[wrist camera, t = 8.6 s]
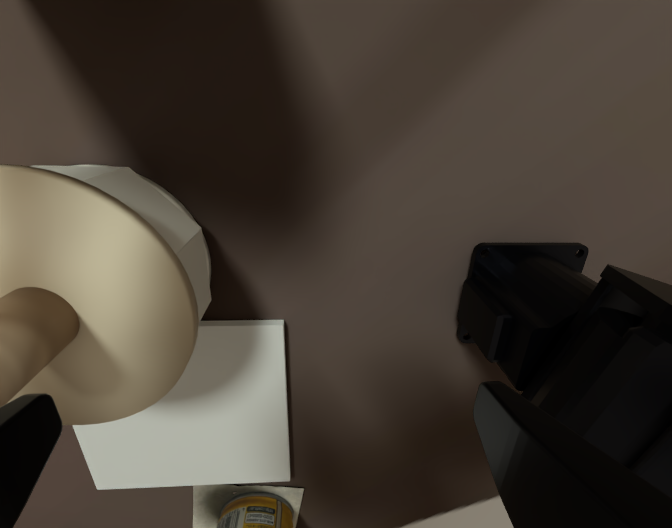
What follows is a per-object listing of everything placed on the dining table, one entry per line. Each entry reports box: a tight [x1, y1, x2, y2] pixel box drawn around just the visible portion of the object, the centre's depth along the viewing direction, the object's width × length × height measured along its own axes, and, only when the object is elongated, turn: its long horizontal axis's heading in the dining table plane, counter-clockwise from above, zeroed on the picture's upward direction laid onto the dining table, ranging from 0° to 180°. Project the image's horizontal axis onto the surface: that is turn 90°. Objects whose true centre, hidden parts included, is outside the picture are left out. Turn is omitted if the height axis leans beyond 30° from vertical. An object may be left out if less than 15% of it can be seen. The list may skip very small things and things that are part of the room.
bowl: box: [31, 164, 212, 322], centre depth 17 cm, size 10×10×5 cm
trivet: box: [72, 320, 290, 490], centre depth 23 cm, size 14×14×1 cm
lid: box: [0, 164, 199, 425], centre depth 12 cm, size 12×12×4 cm
